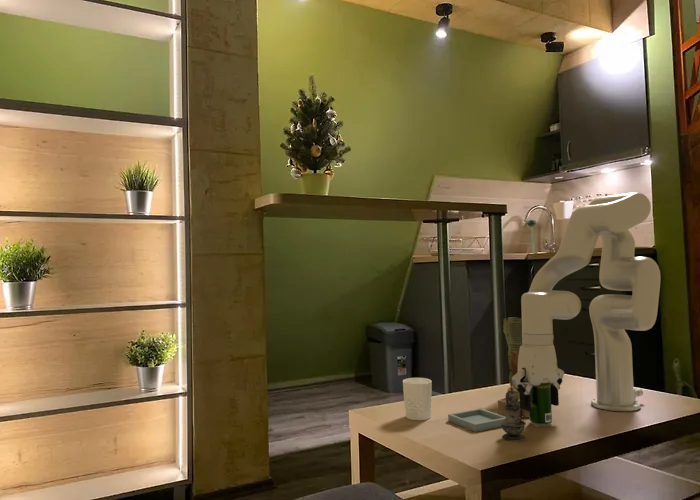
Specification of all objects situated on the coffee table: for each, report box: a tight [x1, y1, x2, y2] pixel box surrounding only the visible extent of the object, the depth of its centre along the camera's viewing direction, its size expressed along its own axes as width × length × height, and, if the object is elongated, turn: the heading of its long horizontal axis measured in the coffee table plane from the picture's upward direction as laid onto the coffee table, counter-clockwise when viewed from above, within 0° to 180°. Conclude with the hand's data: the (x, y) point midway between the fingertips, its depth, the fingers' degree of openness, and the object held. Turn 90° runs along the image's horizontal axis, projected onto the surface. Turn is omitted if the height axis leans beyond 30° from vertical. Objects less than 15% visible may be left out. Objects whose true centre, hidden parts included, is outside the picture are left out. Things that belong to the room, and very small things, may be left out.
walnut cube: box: [497, 397, 523, 418], centre depth 146 cm, size 4×4×4 cm
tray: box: [447, 407, 506, 433], centre depth 141 cm, size 11×11×2 cm
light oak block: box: [522, 409, 530, 418], centre depth 148 cm, size 6×4×3 cm, turn 108°
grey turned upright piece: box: [500, 386, 527, 442], centre depth 129 cm, size 6×6×12 cm
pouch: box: [502, 316, 526, 388], centre depth 169 cm, size 11×12×25 cm
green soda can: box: [529, 378, 553, 427], centre depth 139 cm, size 5×5×12 cm
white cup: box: [402, 377, 433, 421], centre depth 149 cm, size 8×8×10 cm
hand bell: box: [506, 352, 520, 400], centre depth 156 cm, size 8×8×16 cm
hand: (539, 407), depth 139 cm, fingers open, 9 cm apart
